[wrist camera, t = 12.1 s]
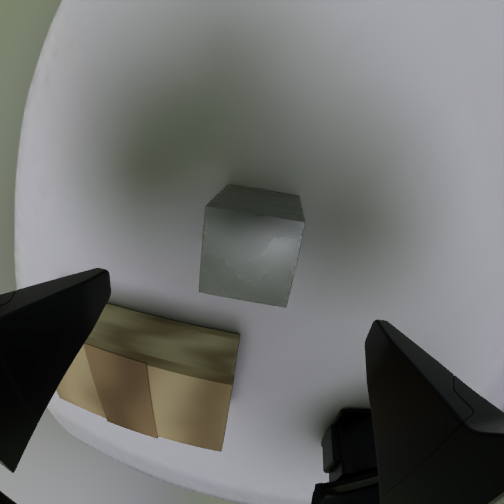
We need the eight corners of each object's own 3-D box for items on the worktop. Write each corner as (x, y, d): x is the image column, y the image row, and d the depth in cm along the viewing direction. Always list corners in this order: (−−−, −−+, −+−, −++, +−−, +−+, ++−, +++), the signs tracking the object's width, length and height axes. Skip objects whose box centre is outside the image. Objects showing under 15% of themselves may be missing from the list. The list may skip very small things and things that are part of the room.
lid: (234, 373, 16) (232, 384, 15) (222, 444, 19) (220, 453, 19) (36, 313, 17) (29, 320, 16) (64, 393, 20) (59, 399, 19)
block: (299, 196, 16) (305, 222, 12) (286, 261, 18) (286, 307, 13) (227, 184, 16) (205, 206, 12) (220, 250, 18) (198, 292, 13)
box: (240, 334, 20) (230, 377, 16) (229, 402, 23) (220, 441, 19) (71, 292, 21) (41, 320, 17) (87, 362, 24) (66, 391, 20)
